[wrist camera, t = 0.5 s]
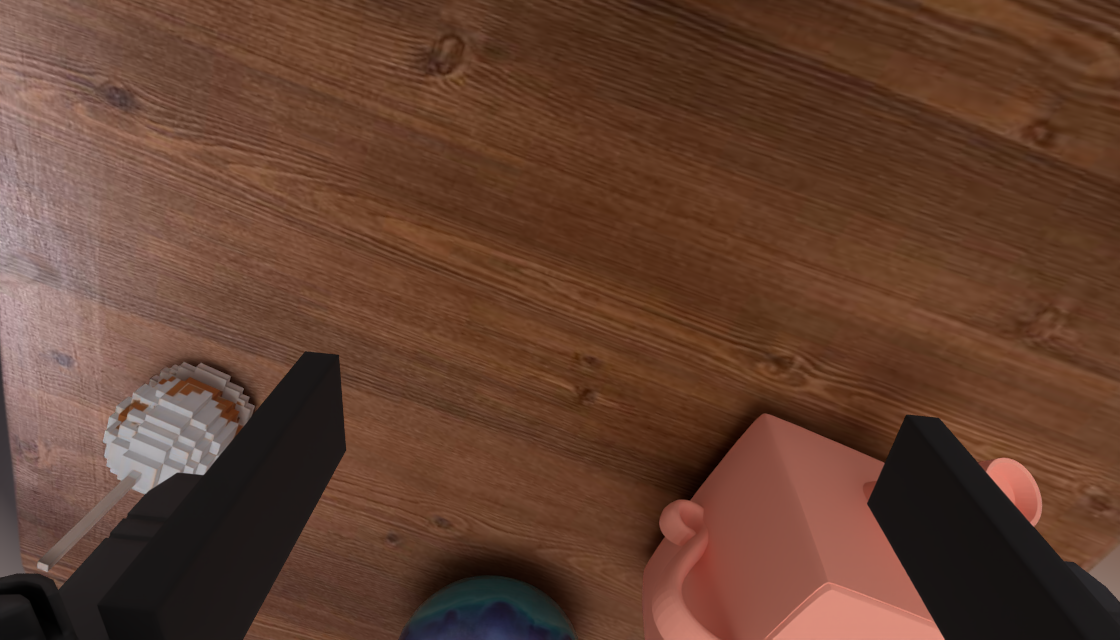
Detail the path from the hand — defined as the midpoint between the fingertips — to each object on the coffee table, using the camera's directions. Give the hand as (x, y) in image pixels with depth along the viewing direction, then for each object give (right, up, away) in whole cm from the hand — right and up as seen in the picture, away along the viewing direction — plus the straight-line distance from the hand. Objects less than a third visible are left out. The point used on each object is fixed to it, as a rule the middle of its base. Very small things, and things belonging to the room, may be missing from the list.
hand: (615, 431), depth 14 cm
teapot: (+17, -9, +31) cm, 36 cm away
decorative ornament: (-28, -4, +31) cm, 42 cm away
